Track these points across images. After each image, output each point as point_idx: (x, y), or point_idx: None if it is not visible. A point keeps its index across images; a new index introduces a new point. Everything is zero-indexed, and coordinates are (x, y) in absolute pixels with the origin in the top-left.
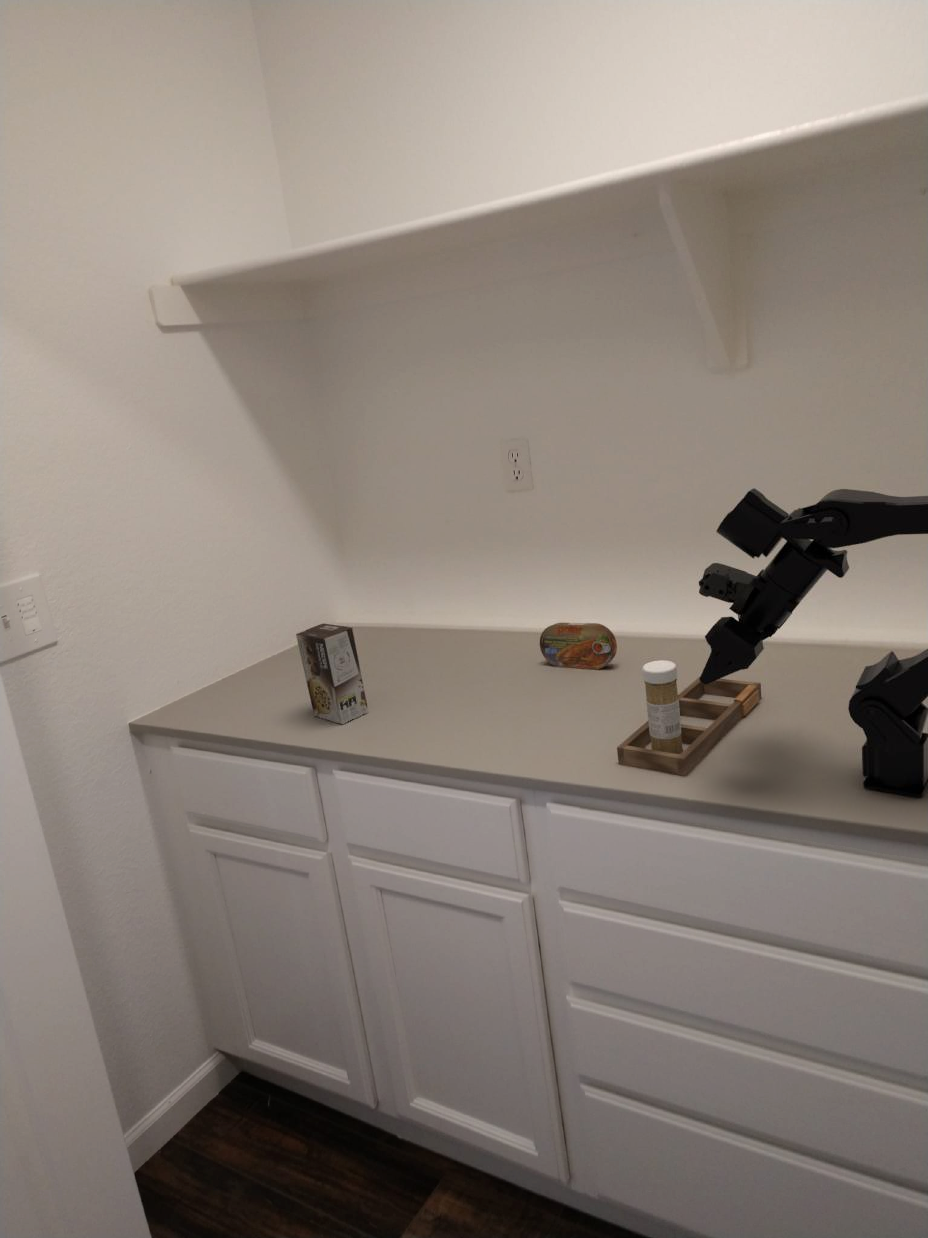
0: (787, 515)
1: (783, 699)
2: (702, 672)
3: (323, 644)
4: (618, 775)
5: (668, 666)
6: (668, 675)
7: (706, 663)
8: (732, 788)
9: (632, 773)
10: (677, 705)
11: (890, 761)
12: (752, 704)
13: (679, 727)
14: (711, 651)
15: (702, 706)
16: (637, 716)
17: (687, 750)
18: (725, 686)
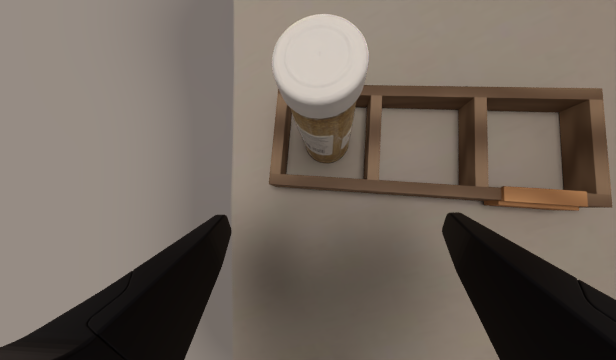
0: None
1: (585, 244)
2: (190, 232)
3: None
4: (256, 110)
5: (313, 84)
6: (290, 102)
7: (143, 264)
8: (262, 251)
9: (265, 123)
10: (321, 140)
11: None
12: (527, 207)
13: (323, 152)
14: (21, 339)
15: (471, 139)
16: (432, 54)
17: (295, 179)
18: (581, 144)
